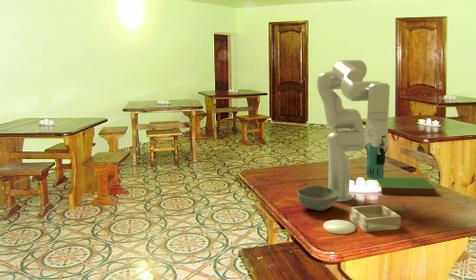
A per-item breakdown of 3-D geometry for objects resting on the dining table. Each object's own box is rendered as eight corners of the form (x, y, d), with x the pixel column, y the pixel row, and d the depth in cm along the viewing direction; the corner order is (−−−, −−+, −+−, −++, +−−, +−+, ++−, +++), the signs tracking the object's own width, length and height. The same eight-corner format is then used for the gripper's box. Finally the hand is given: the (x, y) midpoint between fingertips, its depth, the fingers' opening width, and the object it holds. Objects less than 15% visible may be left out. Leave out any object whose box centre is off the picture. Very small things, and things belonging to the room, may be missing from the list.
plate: (318, 223, 168) (318, 221, 168) (347, 221, 170) (347, 218, 170) (330, 235, 157) (330, 232, 156) (360, 232, 159) (361, 230, 159)
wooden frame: (349, 219, 173) (349, 207, 172) (381, 216, 175) (381, 204, 174) (365, 232, 159) (366, 219, 158) (400, 228, 162) (400, 216, 161)
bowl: (310, 218, 174) (310, 199, 173) (289, 205, 190) (289, 188, 189) (346, 211, 181) (347, 193, 180) (323, 200, 197) (323, 183, 196)
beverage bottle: (379, 178, 168) (382, 128, 164) (386, 183, 161) (389, 131, 158) (363, 178, 168) (365, 129, 164) (369, 183, 161) (371, 132, 157)
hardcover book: (381, 195, 204) (381, 187, 204) (375, 184, 222) (375, 177, 222) (436, 196, 200) (437, 188, 200) (425, 185, 219) (426, 178, 218)
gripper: (357, 113, 167) (356, 157, 171) (380, 119, 151) (377, 168, 154) (375, 112, 169) (373, 156, 172) (399, 118, 152) (396, 167, 155)
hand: (375, 161), depth 163 cm, fingers closed on beverage bottle, 6 cm apart
